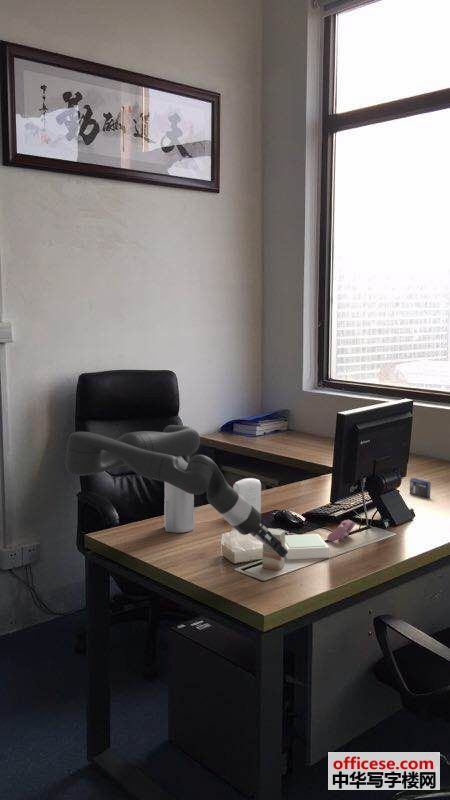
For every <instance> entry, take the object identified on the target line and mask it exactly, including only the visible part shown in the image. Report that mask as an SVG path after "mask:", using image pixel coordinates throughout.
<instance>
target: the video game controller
mask: <svg viewBox="0 0 450 800" xmlns="http://www.w3.org/2000/svg"><path fill="white" fill-rule="evenodd" d="M355 524H356V522H354V521H353V520H350V519H346V520H343V521H341V522H340V524H339V525H338V526H337V528H336V529H335V530H333V531H331V532H330V533H329V534H328V535H327V541H328V542H336V541H337V540H339V541H343V539H345V538H347V537H348V536H349V534H350V532H351V531H352V530H353V529H354V527H355Z"/></svg>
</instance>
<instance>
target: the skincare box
mask: <svg viewBox="0 0 450 800" xmlns="http://www.w3.org/2000/svg"><path fill="white" fill-rule="evenodd" d="M267 530H268V531H270V532H271V533H272V534H273V535H274V537H275V538H276V539H277V540H278V541H279V542H281V544H282V546H283V547H284V548H285V535H286V530H285V529H277V528H270V527H268V528H267ZM263 541H264V540H263ZM264 542H265V541H264ZM261 564H262V566H261V567H262V568H264V569H267V570H268V569H269V570H276V571H280V570H281V569H282V568H283V567H285V557H281V556H280V555H279V554H278V553H277V552H276V551H274V550H272V548H271V547H270V546H269V545H265V544H263V543H262V563H261Z"/></svg>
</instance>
